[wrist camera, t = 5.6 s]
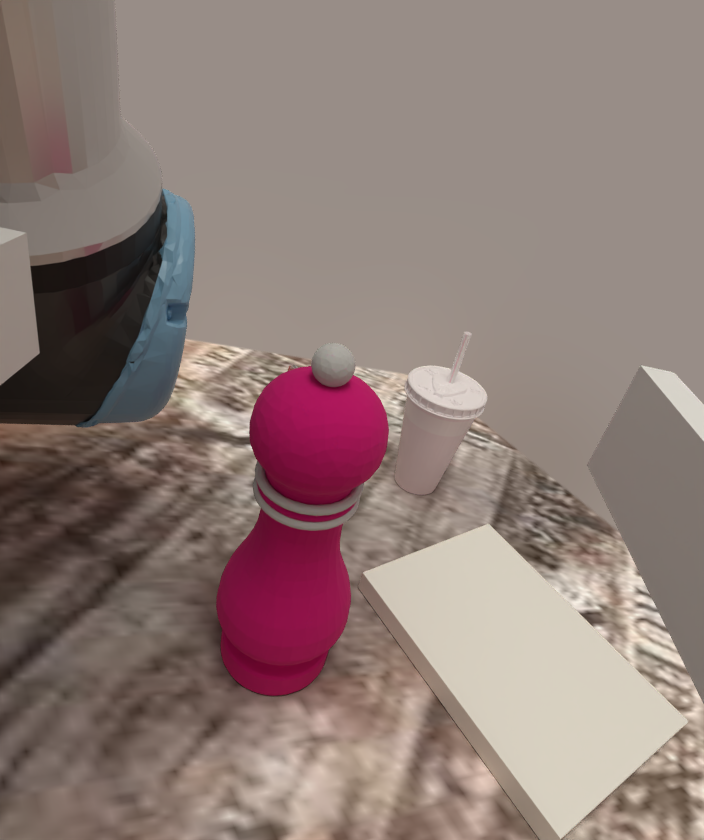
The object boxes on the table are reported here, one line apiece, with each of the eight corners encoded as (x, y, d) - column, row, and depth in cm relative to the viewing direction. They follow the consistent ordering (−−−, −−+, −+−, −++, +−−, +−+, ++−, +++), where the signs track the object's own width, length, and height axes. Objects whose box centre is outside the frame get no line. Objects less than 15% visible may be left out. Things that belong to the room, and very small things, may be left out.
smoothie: (461, 478, 50) (518, 339, 42) (434, 518, 45) (493, 367, 38) (398, 447, 52) (441, 308, 44) (365, 481, 47) (408, 331, 39)
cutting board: (357, 587, 38) (362, 572, 37) (482, 537, 44) (488, 523, 44) (548, 851, 27) (560, 839, 26) (675, 734, 34) (688, 721, 33)
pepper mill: (313, 586, 37) (382, 308, 26) (352, 687, 32) (459, 393, 21) (201, 606, 34) (227, 303, 23) (225, 722, 29) (271, 400, 18)
